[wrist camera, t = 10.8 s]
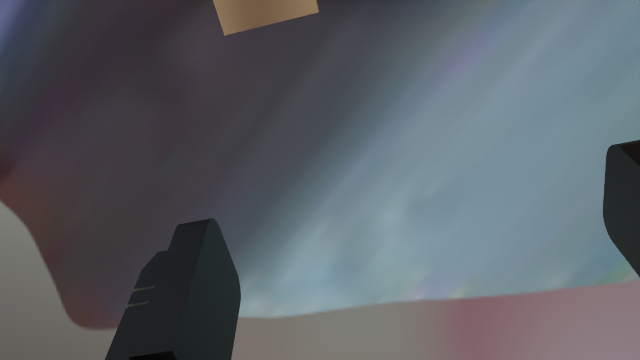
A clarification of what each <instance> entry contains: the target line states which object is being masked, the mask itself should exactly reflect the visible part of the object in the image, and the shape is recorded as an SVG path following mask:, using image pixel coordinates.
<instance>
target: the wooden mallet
mask: <svg viewBox="0 0 640 360" xmlns="http://www.w3.org/2000/svg"><path fill="white" fill-rule="evenodd" d="M213 2H214V5H215V8H216V11H217V14H218V17H219V20H220V23H221V26H222V29H223V32H224V35H228V34H232V33H236V32H240V31H244V30H248V29H253V28H257V27H261V26H265V25H269V24H273V23H277V22H281V21H285V20H289V19H293V18H297V17H301V16H305V15H309V14H313V13H317V12H319V8H318V0H213Z"/></svg>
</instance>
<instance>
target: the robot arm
mask: <svg viewBox="0 0 640 360" xmlns="http://www.w3.org/2000/svg"><path fill="white" fill-rule="evenodd" d="M603 217H604V223H605V226H606V229H607V232H608V234H609V236H610V238H611V240H612V241H613V243H614V244H615V245H616V247H617V248H618V249H619V251H620V252H621V253H622V255H623V256H624V257H625V258H626V260H627V261H628V262H629V264H630V265H631V266H632V268H633V269H634V270H635V272H636V273H637V274H638V275H639V277H640V140H637V141H631V142H626V143H621V144H615V145H612V146H610V147H609V149H608V151H607V156H606V170H605V185H604V200H603ZM240 301H241V291H240V283H239V278H238V274H237V271H236V269H235V266H234V264H233V261H232V258H231V256H230V253H229V251H228V248H227V245H226V243H225V240H224V238H223V235H222V232H221V230H220V227H219V225H218V223H217V222H216V220H215V219H213V218H211V219H206V220H201V221H195V222H190V223H185V224H179V225H178V226H177V227H176V229H175V232H174V235H173V238H172V240H171V243H170V246H169V249H168V250H167V251H161V252H157V254H156V255H155V256H154V257H153V258H152V259H151V260H150V261H149V263H148V264H147V265H146V266H145V267H144V268H143V269H142V271H141V273H140V276H139V278H138V280H137V283H136V285H135V288H134V293H132V295H131V297H130V300H129V302H128V308H126V309H125V312H124V314H123V317H122V319H121V322H120V324H119V326H118V329H117V331H116V334H115V336H114V339H113V341H112V344H111V346H110V348H109V351H108V353H107V356H106V358H105V360H231V356H232V350H233V344H234V338H235V331H236V326H237V320H238V314H239V308H240Z"/></svg>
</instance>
